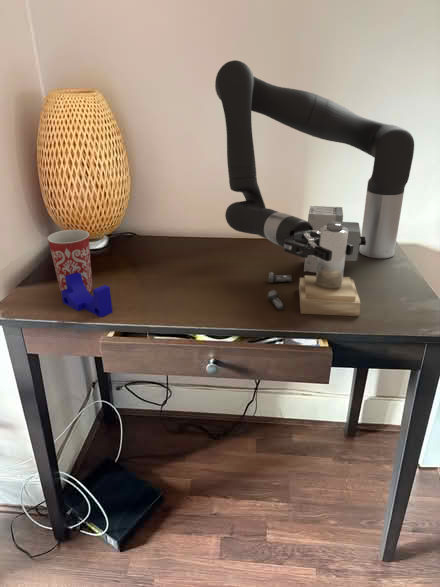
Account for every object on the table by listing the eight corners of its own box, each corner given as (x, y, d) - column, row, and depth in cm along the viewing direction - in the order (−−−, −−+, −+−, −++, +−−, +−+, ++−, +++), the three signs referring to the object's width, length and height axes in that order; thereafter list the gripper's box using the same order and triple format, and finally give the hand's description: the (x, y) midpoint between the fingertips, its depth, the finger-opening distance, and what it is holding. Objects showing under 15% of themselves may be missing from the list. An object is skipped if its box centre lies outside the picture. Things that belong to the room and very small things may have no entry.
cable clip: (63, 303, 105) (58, 278, 103) (80, 296, 108) (77, 272, 106) (94, 320, 98) (91, 293, 95) (112, 312, 101) (109, 286, 98)
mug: (96, 296, 108) (88, 240, 102) (54, 300, 106) (44, 243, 100) (97, 275, 119) (90, 223, 113) (60, 278, 117) (51, 226, 112)
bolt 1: (270, 284, 113) (270, 274, 112) (268, 280, 115) (269, 270, 114) (291, 283, 114) (292, 274, 113) (289, 279, 116) (290, 270, 115)
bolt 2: (267, 300, 105) (267, 290, 104) (277, 299, 106) (278, 289, 105) (275, 311, 101) (275, 301, 100) (285, 309, 101) (286, 299, 100)
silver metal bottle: (314, 276, 105) (320, 219, 99) (340, 277, 105) (347, 220, 99) (316, 287, 100) (322, 227, 94) (343, 288, 100) (350, 228, 94)
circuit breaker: (362, 275, 117) (369, 216, 111) (303, 271, 120) (308, 213, 114) (360, 264, 124) (367, 208, 118) (305, 260, 127) (309, 205, 120)
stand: (298, 289, 111) (300, 273, 109) (351, 291, 109) (353, 275, 107) (300, 313, 100) (301, 296, 98) (359, 316, 98) (361, 298, 97)
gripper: (263, 221, 105) (317, 243, 92) (311, 210, 112) (367, 229, 99) (262, 253, 108) (314, 278, 95) (309, 241, 115) (363, 263, 102)
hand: (341, 253), depth 97 cm, fingers closed on silver metal bottle, 5 cm apart
